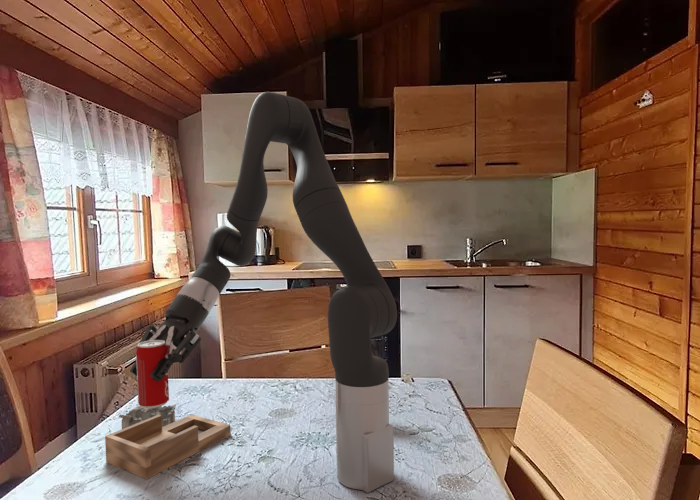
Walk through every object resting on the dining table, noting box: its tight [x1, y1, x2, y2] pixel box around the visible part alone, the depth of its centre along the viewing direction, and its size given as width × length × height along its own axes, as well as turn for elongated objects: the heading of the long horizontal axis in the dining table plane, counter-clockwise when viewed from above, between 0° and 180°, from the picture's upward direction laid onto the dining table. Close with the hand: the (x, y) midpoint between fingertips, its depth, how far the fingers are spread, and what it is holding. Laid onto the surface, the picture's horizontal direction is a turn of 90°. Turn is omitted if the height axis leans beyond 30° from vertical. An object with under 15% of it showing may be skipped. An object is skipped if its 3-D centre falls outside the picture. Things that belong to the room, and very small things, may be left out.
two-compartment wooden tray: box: [104, 414, 232, 480], centre depth 93 cm, size 12×20×5 cm, turn 149°
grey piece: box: [118, 403, 177, 430], centre depth 104 cm, size 11×8×4 cm
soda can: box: [135, 340, 170, 408], centre depth 89 cm, size 6×6×12 cm
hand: (144, 376), depth 87 cm, fingers closed on soda can, 5 cm apart
